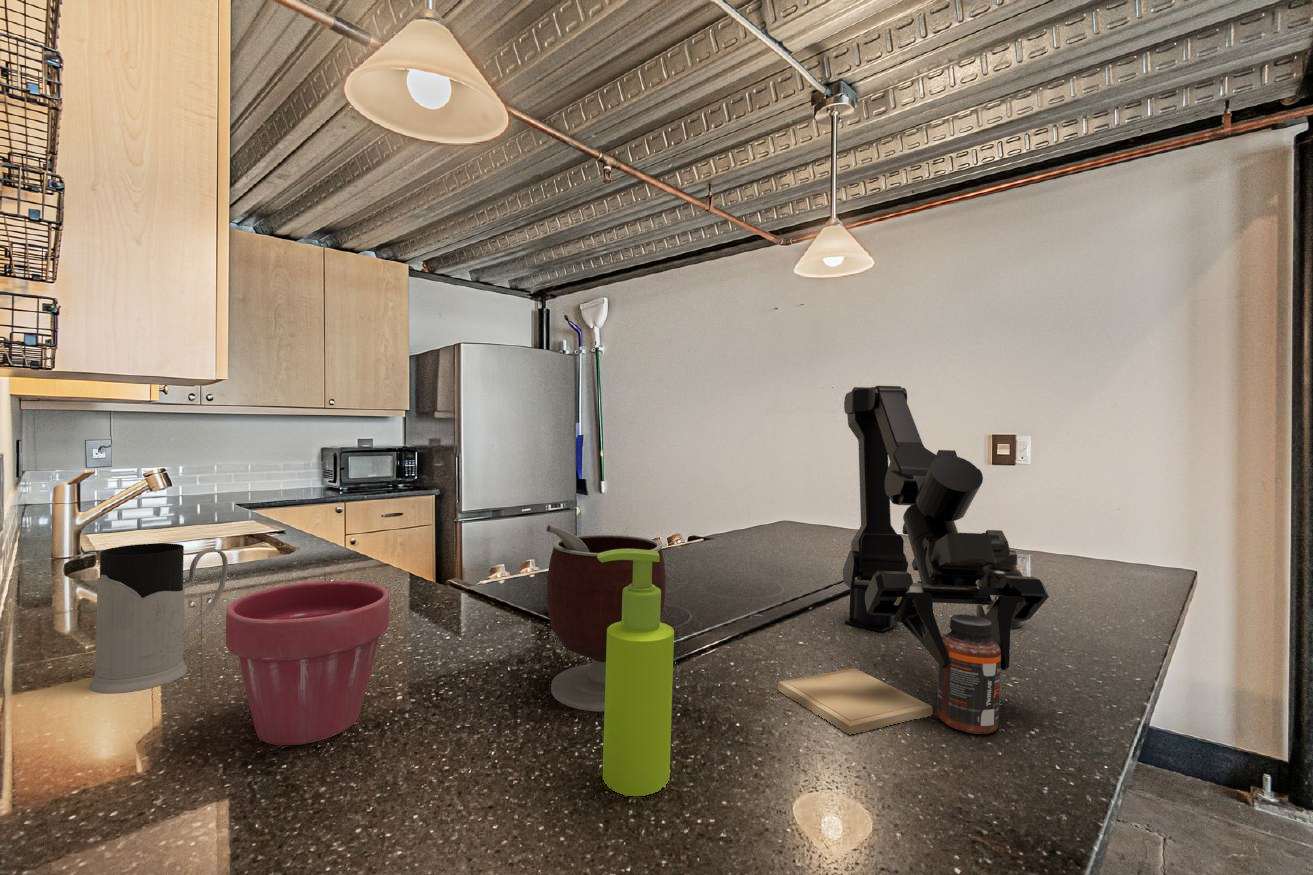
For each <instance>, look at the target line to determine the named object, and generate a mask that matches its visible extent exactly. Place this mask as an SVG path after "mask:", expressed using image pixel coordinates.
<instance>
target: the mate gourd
mask: <svg viewBox="0 0 1313 875" xmlns="http://www.w3.org/2000/svg"><path fill="white" fill-rule="evenodd" d="M546 532H547V533H550V534H551V533H552V534H554V535H556V536H557V537H558V538H559V539H557V540H555V541H554V542H553V543H552V551H551V552H552V553H551V555H550V560H549V565H548V570H547V576H546V577H547V578H546V581H547V582H546V601H547V603H546V604H547V609H548V610H547V612H548V617H549V622H550V626H551V629H552V631H553V633H554V634H555V635H556V637H557V638H558V640H559V641H560V643H562V644H561V645H563V647H564V648H565V649H566V650H568V651H570V652H572V653H575V654H578V655H580V656H584V657H587V658H590V659H592V663H589V664H581V665H578V666H573V667H571V668H568V669H565V670H563V671H561V672H559V673H558V674H556V675H555V676H554V677H553V678H552V680H551V685H550V691H551V696H553V698H554V699H555V700H556V701H558V703H559V702H560V704H562V705H565V706H567V707H570V708H573V709H577V710H582V711H587V710H588V711H589V712H605V680H606V647H607V628H608V627H609V626H610V625H612V624H614V623H617V622H620V621H622V593H623V589H624V588H625V587H627V586H628V585H630V584H632V581H633V560H612V561H607V562H600V561H599V560H598V559H597V554H598V553H601V552H605V551H610V550H616V549H643V550H652V551H658V553H659V562H653V561H652V584H653V585H655V586H656V587H657V588H659V589H660V590H661V610H660V622H662V621H661V620H662V618H663V613H664V606H665V601H666V585H667V583H666V582H667V581H666V580H667V579H666V577H667V576H666V567H665V566H666V565H665V558H664V553H663V550H662V548H663V544H662V543H661V542H660V541H657V540H654V539H650V538H647V537H641V536H640V537H639V536H632V535H622V534H621V535H619V534H587V535H586V534H583V535H574V534H573V533H571V532H570V531H569V532H568V531H567V530H565V529H562V528H561V527H557V526H554V525H552V524H548V525H547V526H546ZM588 711H587V712H588Z"/></svg>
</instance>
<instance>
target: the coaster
mask: <svg viewBox="0 0 1313 875" xmlns="http://www.w3.org/2000/svg"><path fill="white" fill-rule="evenodd" d="M777 691H778V692H780V693H782V694H784V695H785V696H786V697H788V698H789V699H791V700H793V701H794V702H796V703H797V702H798V703H797V704H798V705H800V704H801V705H800V706H802V707H804V706H805V707H806V708H805V707H804V708H805V709H807V710H808V711H810V710H811V711H812V712H811V711H810V712H811V713H813V714H814V715H817V716H818V715H819V716H820V717H819V716H818V717H819V718H821V717H822V718H823V720H824V719H826V720H827V721H828V722H827V721H826V720H825V721H826V722H827V723H829V722H830V723H832V724H833V725H832V724H831V725H832V726H834V725H835V726H836V727H835V726H834V727H835V728H837V729H838V728H840V729H841V730H842V732H843V731H844V732H843V733H845V732H846V733H847V734H846V733H845V734H846V735H848V734H849V735H851V734H855V733H858V732H863V733H867V732H871V731H874V730H873V729H875V730H878V729H877V728H880V729H883V727H884V728H886V727H885V726H888V727H890V726H889V725H892V726H894V725H893V724H896V725H898V724H897V723H900V724H903V723H902V722H904V723H906V722H905V721H908V722H910V721H909V720H912V721H914V720H913V719H917V720H920V718H921V719H924V718H928V716H929V717H932V716H931V715H933V716H934V714H933V712H934V711H933V710H934V709H933V708H934V707H933V705H930V704H928V703H927V702H924V701H922V700H920V699H918V698H916V697H915V696H912V695H910V694H908V693H906V692H905V691H902V690H900V689H898V688H896V687H894V686H892V685H889V684H888V683H886V682H884V681H881V680H879V679H877V678H876V677H874V676H872V675H870V674H868V673H865V672H864V671H861V670H859V669H857V668H855V667H854V668H847V669H841V670H837V671H831V672H825V673H820V674H815V675H814V674H813V675H809V676H803V677H798V678H791V679H786V680H782V681H778V682H777ZM923 717H924V718H923ZM822 718H821V719H822ZM830 723H829V724H830ZM840 729H839V730H840ZM841 730H840V731H841ZM870 730H871V731H870ZM849 735H848V736H849ZM855 735H856V734H855ZM851 736H852V735H851Z"/></svg>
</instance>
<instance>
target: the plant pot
mask: <svg viewBox="0 0 1313 875" xmlns="http://www.w3.org/2000/svg"><path fill="white" fill-rule="evenodd" d="M389 621H390V594H389V591H388V590H387V588H385V587H383V586H380V585H378V584H374V583H371V582H370V583H369V582H363V581H356V580H355V581H354V580H352V581H351V580H325V581H324V580H323V581H311V582H310V581H308V582H299V583H293V584H292V583H291V584H287V585H286V584H285V585H281V586H280V585H279V586H274V587H271V588H267V589H262V590H259V591H255V592H251V593H248V594H246V595H244V596H241V597H240V598H238V599H236V600H234V601H233V602H231V603H230V604H229V605H228V606H227V609H226V616H225V645H226V648H227V651H229V652H230V654H233V655H235V656H237V658H238V663H239V668H240V672H241V677H242V683H243V686H244V691H245V695H246V699H247V702H248V706H249V710H250V713H251V717H252V721H253V725H254V729H255V733H256V735H257V738H258V739H260V740H261V741H262V742H265V743H267V744H271V745H275V746H276V745H277V746H296V745H297V746H298V745H304V744H310V743H314V742H315V743H316V742H319V741H321V740H326V739H328V738H331V737H333V736H336V735H338V734H340V733H342V732H344V731H346V730H347V729H349V728H350V727H352V726H353V725H354V724H355V723H356V722H357V721H358V719H359V716H360V713H361V710H362V705H363V703H364V699H365V695H366V692H367V688H368V683H369V680H370V676H371V672H372V668H373V663H374V660H375V656H376V652H377V646H378V642H379V639H380V638H379V637H382V635H384V634H385V633H386V632H387V630H388V628H389V624H390V623H389Z"/></svg>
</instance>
